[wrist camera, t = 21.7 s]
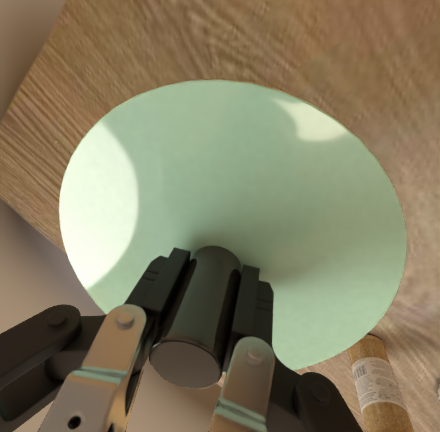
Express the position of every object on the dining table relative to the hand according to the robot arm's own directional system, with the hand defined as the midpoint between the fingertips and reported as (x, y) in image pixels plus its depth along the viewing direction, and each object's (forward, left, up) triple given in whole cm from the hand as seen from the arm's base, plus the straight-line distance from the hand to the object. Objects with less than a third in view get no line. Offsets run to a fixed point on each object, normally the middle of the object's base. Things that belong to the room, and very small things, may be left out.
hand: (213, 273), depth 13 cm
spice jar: (+28, +7, -18) cm, 34 cm away
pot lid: (0, 0, -1) cm, 1 cm away
